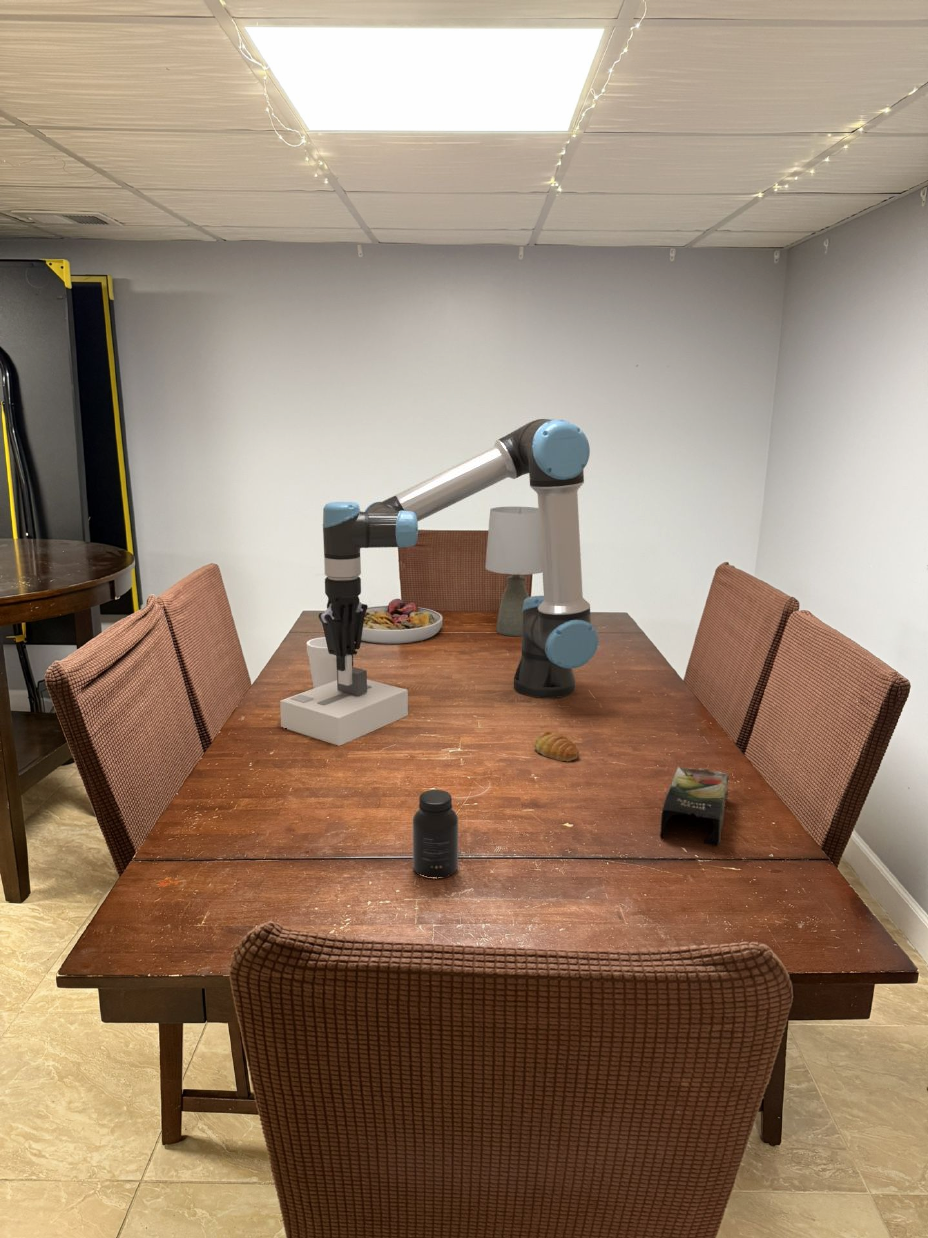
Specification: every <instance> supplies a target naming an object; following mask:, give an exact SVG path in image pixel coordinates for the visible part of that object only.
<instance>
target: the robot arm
mask: <svg viewBox="0 0 928 1238" xmlns="http://www.w3.org/2000/svg"><path fill="white" fill-rule="evenodd" d="M590 450H591V449H590V443H589V440H588V437H587V435H586V434H585V433H584V431H583V430H582V429H581V428H580V427H578V426H577V425H576V424H573V423H571V422H570V421H566V420H563V419H549V418H541V419H535V420H532V421H529V422H528V423H525V424H524V425H522V426H520V427H519V428H516V429H515V430H514V431H512V432H510V433H508V434H506V435H505V436H502V437H500V438H499V439H498V438H497V439H496V440H495V443H494V445H493V446H492V447H490V448H488V449H486V450H484V451H482V452H480V453H478V454H476V455H474V456H472V457H470V458H468V459H466V460H465V461H462V462H460V463H458V464H456V465H453V466H452V467H450V468H447V469H446V470H443V471H441V472H440V473H438V474H435V475H433V476H432V477H430V478H427V479H425V480H423V481H421V482H419V483H417V484H415V485H414V486H411V487H409V488H407V489H404V490H403V491H400V492H399V493H397V494H395V495H393V496H391V497H388V498H387V499H385V500H383V501H375V502H372V503H370V504H369V505H368V506H367V507H366V508H365V510H364V511H361V509H360V504H359V503H358V502H355V501H333V502H332V501H331V502H328V503H326V504H325V505H324V506H323V509H322V510H323V512H322V514H323V515H322V534H323V535H322V537H323V558H324V560H323V561H324V576H326V577H325V578H324V593H325V596H326V597H327V599H328V600H327V604H326V610H325V611H324V612H323V613H322V612H320V613H319V614H318V619H319V621H320V623H321V625H322V628H323V635H324V637H325V639H326V643H327V648H328V652H329V654H332V655H336V663H337V664H336V665H337V670H338V683H339V684H343V685H347V686H348V685H351V684H352V668H353V667H354V655H357V654H358V651H357V650H360V648H361V644H362V643H361V642H362V640H361V638H362V631H363V624H364V616H365V613H366V611H367V608H368V607H369V606H368V604H367V603H366V604H365V603H363V602H361V601H360V597H359V596H360V595H361V593H362V578H361V577H360V575H361V574H362V570H361V569H362V568H361V566H362V565H361V564H362V563H361V549H370V548H371V549H372V548H399V549H402V548H406V547H414V546H415V545H416V544H417V543H418V539H419V537H418V536H419V525H418V523H419V522H420V521H422V520H424V519H425V518H428V517H430V516H432V515H434V514H437V513H438V512H440V511H442V510H445V509H446V508H450V506H452V505H454V504H456V503H458V502H461V501H463V500H464V499H466V498H469V497H471V496H473V495H475V494H476V493H479V492H481V491H483V490H485V489H487V488H489V487H492V486H494V485H495V484H497V483H500V482H501V481H503V480H505V479H507V478H510V479H512V480H515V479H518V478H519V477H521V476H523V475H527V474H529V477H528V478H529V487H530V488H531V489H532V490H533V491H534V492H535V493H536V494H537V508H538V509H539V525H540V541H541V557H542V583H543V587H542V588H543V595H533V596H532V595H531V596H529V597H528V598H526V599H525V600H524V603H523V609H522V613H523V620H522V636H521V656H520V660H519V663H518V665H517V668H516V670H515V674H514V676H513V683H512V684H513V685H512V686H513V689H514V690H515V691H516V692H517V693H519V694H522V695H524V696H528V697H533V698H543V699H549V698H551V699H552V698H562V697H566V696H569V695H571V694H573V693H574V692H575V691H576V678H575V674H574V670H573V669H577V668H579V667H583V666H584V665H586V664H588V663H589V661H590V660H592V658H593V657H594V656H595V655H596V652H597V650H598V647H599V634H598V632H597V630H596V628H595V626H593V624H592V620H591V619H592V618H591V617H592V616H591V604H590V603H589V602H588V601H587V600H586V599H585V598H584V597H583V596H584V595H583V577H582V559H581V555H582V554H581V540H580V539H581V538H580V520H579V518H580V517H579V516H580V515H579V498H578V497H579V496H578V491H579V490H580V489H581V487H582V486H583V484H585V476H584V473H585V472H584V469H585V468H586V467H587V464H588V462H589V459H590V456H591V455H590V453H591V451H590Z"/></svg>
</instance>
